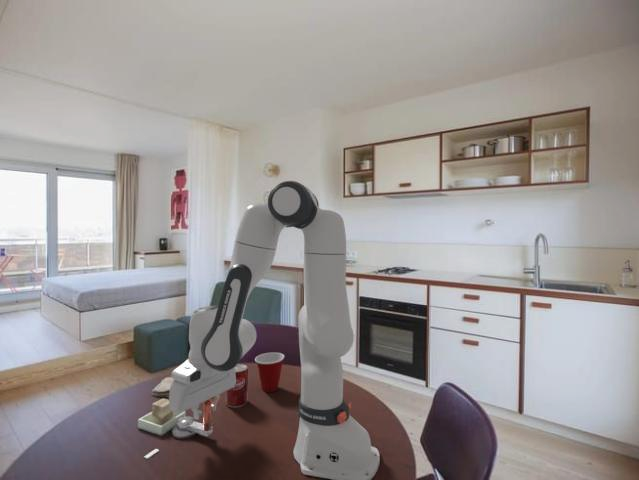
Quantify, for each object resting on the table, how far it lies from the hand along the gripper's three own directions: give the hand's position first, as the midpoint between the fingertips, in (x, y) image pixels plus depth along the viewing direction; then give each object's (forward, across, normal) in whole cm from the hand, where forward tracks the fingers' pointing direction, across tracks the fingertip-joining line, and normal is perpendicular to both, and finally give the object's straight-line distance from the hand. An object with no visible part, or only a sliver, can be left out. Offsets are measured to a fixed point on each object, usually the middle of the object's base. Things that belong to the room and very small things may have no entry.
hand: (204, 414), depth 97 cm
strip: (+7, +12, -6) cm, 15 cm away
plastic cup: (+7, -34, -6) cm, 35 cm away
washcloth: (+8, -16, -32) cm, 36 cm away
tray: (+7, +2, -17) cm, 18 cm away
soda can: (+7, -20, -8) cm, 22 cm away
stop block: (+6, +2, -17) cm, 18 cm away
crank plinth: (+7, 0, -8) cm, 11 cm away
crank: (+6, 0, -4) cm, 7 cm away
